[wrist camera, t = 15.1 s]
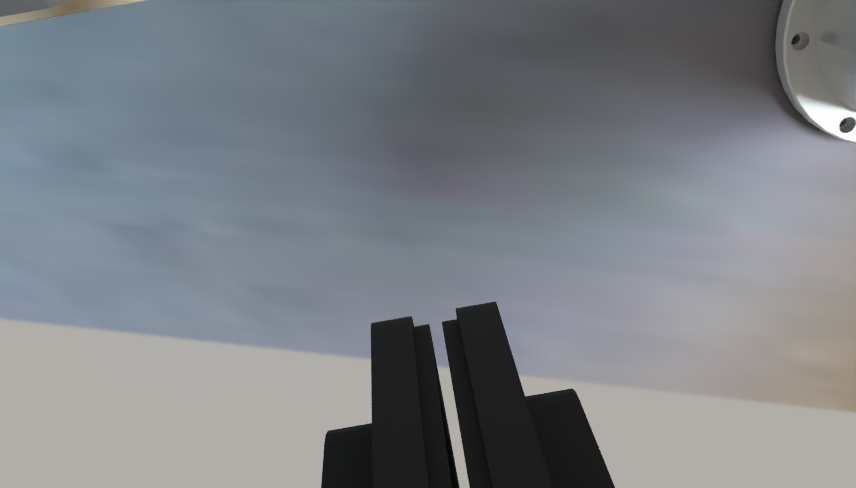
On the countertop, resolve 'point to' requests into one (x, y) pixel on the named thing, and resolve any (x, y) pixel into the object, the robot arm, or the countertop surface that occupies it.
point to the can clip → (25, 6)
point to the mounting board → (63, 10)
